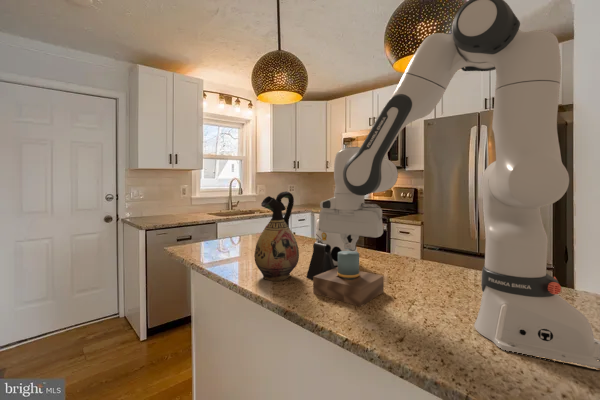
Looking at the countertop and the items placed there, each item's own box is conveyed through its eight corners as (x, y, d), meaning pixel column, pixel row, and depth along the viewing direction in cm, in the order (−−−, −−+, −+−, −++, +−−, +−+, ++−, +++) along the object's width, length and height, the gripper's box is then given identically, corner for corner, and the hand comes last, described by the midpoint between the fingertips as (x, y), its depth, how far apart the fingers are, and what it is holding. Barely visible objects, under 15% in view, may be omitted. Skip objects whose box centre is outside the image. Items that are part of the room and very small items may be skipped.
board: (383, 292, 95) (383, 275, 95) (360, 306, 85) (360, 288, 84) (338, 281, 106) (338, 266, 105) (313, 292, 95) (313, 276, 95)
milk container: (305, 264, 127) (304, 219, 126) (333, 256, 139) (333, 216, 138) (337, 273, 115) (337, 224, 113) (366, 264, 126) (366, 220, 125)
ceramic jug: (269, 287, 100) (268, 192, 98) (247, 275, 112) (245, 191, 110) (311, 277, 110) (311, 191, 108) (286, 267, 122) (286, 190, 120)
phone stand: (317, 282, 105) (317, 246, 104) (306, 277, 110) (306, 243, 109) (337, 277, 110) (337, 243, 110) (325, 273, 115) (326, 240, 114)
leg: (363, 292, 96) (363, 252, 95) (352, 298, 91) (352, 257, 90) (344, 287, 100) (345, 249, 99) (333, 293, 95) (333, 253, 94)
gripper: (386, 203, 89) (387, 251, 90) (327, 201, 102) (327, 243, 103) (376, 205, 84) (376, 256, 85) (315, 202, 97) (316, 247, 98)
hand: (349, 249), depth 94 cm, fingers closed
